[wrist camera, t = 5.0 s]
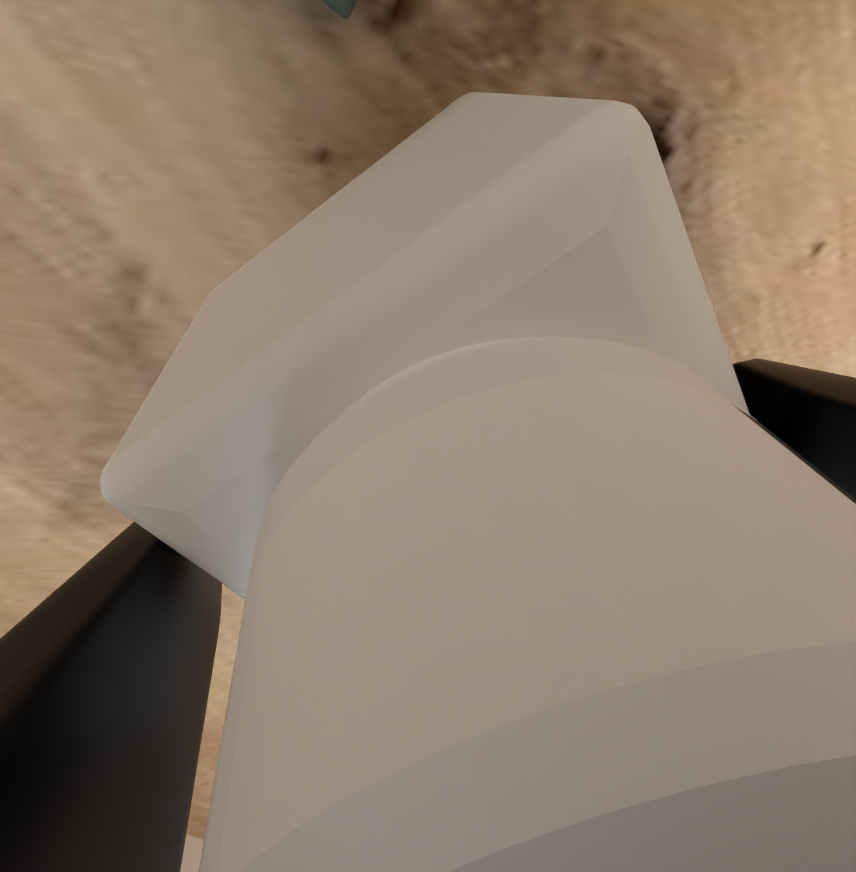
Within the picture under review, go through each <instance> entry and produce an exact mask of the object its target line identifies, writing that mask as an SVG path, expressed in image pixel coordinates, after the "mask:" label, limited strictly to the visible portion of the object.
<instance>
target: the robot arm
mask: <svg viewBox="0 0 856 872" xmlns="http://www.w3.org/2000/svg"><path fill="white" fill-rule="evenodd" d="M733 368H734V371H735V374H736V377H737V379H738V382H739V385H740V388H741V391H742V394H743V397H744V400H745V402H746V405H747V408H748V411H749V414H750V415H751V416H752V417H753V418H755V419H756V420H757V421H758V422H760V423H761V424H762V425H763V426H765V427H766V428H767V429H768V430H770V431H771V432H772V433H773V434H775V435H776V436H777V437H778V438H780V439H781V440H782V441H783V442H785V443H786V444H787V445H788V446H790V447H791V448H792V449H793V450H795V451H796V452H797V453H798V454H800V455H801V456H802V457H803V458H805V459H806V460H807V461H808V462H810V463H811V464H812V465H813V466H815V467H816V468H817V469H818V470H820V471H821V472H822V473H823V474H825V475H826V476H827V477H828V478H830V479H831V480H832V481H833V482H835V483H836V484H837V485H839V486H840V487H841V488H842V489H844V490H845V491H846V492H847V493H849V494H850V495H851V496H852V497H854V498H855V499H856V378H854V377H849V376H844V375H839V374H834V373H829V372H824V371H819V370H813V369H808V368H803V367H798V366H793V365H788V364H783V363H778V362H773V361H768V360H763V359H752V360H747V361H743V362H738V363H735V364H733ZM221 593H222V583H221V582H220V581H219V580H217V579H216V578H214V577H213V576H211V575H210V574H209V573H207V572H206V571H204V570H203V569H201V568H200V567H198V566H197V565H196V564H194V563H193V562H191V561H190V560H188V559H187V558H186V557H184V556H183V555H181V554H180V553H178V552H177V551H176V550H174V549H173V548H171V547H170V546H168V545H167V544H165V543H164V542H163V541H161V540H160V539H158V538H157V537H155V536H154V535H153V534H151V533H150V532H148V531H147V530H145V529H144V528H143V527H141V526H140V525H138V524H137V523H135V522H133V523H132V524H131V525H130V526H129V527H127V528H126V529H125V530H124V531H123V532H122V533H121V534H119V535H118V536H117V537H116V538H115V539H114V540H113V541H111V542H110V543H109V544H108V545H107V546H106V547H105V548H103V549H102V550H101V551H100V552H99V553H98V554H97V555H95V556H94V557H93V558H92V559H91V560H90V561H89V562H87V563H86V564H85V565H84V566H83V567H82V568H81V569H79V570H78V571H77V572H76V573H75V574H74V575H73V576H71V577H70V578H69V579H68V580H67V581H66V582H65V583H63V584H62V585H61V586H60V587H59V588H58V589H57V590H55V591H54V592H53V593H52V594H51V595H50V596H49V597H47V598H46V599H45V600H44V601H43V602H42V603H41V604H39V605H38V606H37V607H36V608H35V609H34V610H33V611H31V612H30V613H29V614H28V615H27V616H26V617H25V618H23V619H22V620H21V621H20V622H19V623H18V624H17V625H15V626H14V627H13V628H12V629H11V630H10V631H9V632H7V633H6V634H5V635H4V636H3V637H2V638H1V639H0V872H180V869H181V863H182V857H183V851H184V845H185V838H186V832H187V826H188V820H189V813H190V807H191V801H192V795H193V788H194V782H195V776H196V770H197V763H198V757H199V751H200V744H201V738H202V732H203V726H204V719H205V713H206V707H207V701H208V694H209V688H210V682H211V676H212V669H213V663H214V657H215V651H216V644H217V638H218V632H219V624H220V614H221Z"/></svg>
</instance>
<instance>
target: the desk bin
mask: <svg viewBox="0 0 856 872" xmlns="http://www.w3.org/2000/svg"><path fill="white" fill-rule="evenodd" d="M321 1H323V2H324V3H325V4H326V5H328V6H329V7H330V8H331V9H333V10H334V11H335V12H336V13H338V14H339V15H340V16H341V17H343V18H344V19H348V17H349V15H350V13H351V11H352V9H353V7H354V5H355V2H356V0H321Z"/></svg>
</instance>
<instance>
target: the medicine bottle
mask: <svg viewBox="0 0 856 872" xmlns="http://www.w3.org/2000/svg"><path fill="white" fill-rule="evenodd" d="M100 487H101V495H102V496H103V497H104V498H105V500H106V501H107V502H108V503H109V504H110V505H111V506H112V507H114V508H115V509H117V510H118V511H120V512H121V513H122V514H124V515H125V516H127V517H128V518H130V519H131V520H133V521H134V522H135V523H137V524H138V525H140V526H141V527H143V528H144V529H145V530H147V531H148V532H150V533H151V534H153V535H154V536H155V537H157V538H158V539H160V540H161V541H163V542H164V543H165V544H167V545H168V546H170V547H171V548H173V549H174V550H176V551H177V552H178V553H180V554H181V555H183V556H184V557H186V558H187V559H188V560H190V561H191V562H193V563H194V564H196V565H197V566H198V567H200V568H201V569H203V570H204V571H206V572H207V573H209V574H210V575H211V576H213V577H214V578H216V579H217V580H219V581H220V582H221V583H223V584H224V585H226V586H227V587H229V588H230V589H231V590H233V591H234V592H236V593H237V594H239V595H240V596H241V597H243V598H244V599H246V600H245V605H244V611H243V617H242V623H241V629H240V634H239V640H238V646H237V652H236V658H235V663H234V669H233V675H232V681H231V687H230V692H229V698H228V704H227V710H226V716H225V721H224V727H223V733H222V739H221V745H220V750H219V756H218V762H217V768H216V774H215V779H214V785H213V791H212V797H211V803H210V808H209V814H208V820H207V826H206V832H205V837H204V843H203V849H202V855H201V861H200V866H199V872H856V499H855V498H854V497H852V496H851V495H850V494H849V493H847V492H846V491H845V490H844V489H842V488H841V487H840V486H839V485H837V484H836V483H835V482H833V481H832V480H831V479H830V478H828V477H827V476H826V475H825V474H823V473H822V472H821V471H820V470H818V469H817V468H816V467H815V466H813V465H812V464H811V463H810V462H808V461H807V460H806V459H805V458H803V457H802V456H801V455H800V454H798V453H797V452H796V451H795V450H793V449H792V448H791V447H790V446H788V445H787V444H786V443H785V442H783V441H782V440H781V439H780V438H778V437H777V436H776V435H775V434H773V433H772V432H771V431H770V430H768V429H767V428H766V427H765V426H763V425H762V424H761V423H760V422H758V421H757V420H756V419H755V418H753V417H752V416H751V415H750V414H749V411H748V408H747V405H746V402H745V400H744V397H743V394H742V391H741V388H740V385H739V382H738V379H737V377H736V374H735V371H734V368H733V365H732V362H731V359H730V356H729V353H728V351H727V348H726V345H725V342H724V339H723V336H722V333H721V330H720V328H719V325H718V322H717V319H716V316H715V313H714V310H713V307H712V305H711V302H710V299H709V296H708V293H707V290H706V287H705V284H704V281H703V279H702V276H701V273H700V270H699V267H698V264H697V261H696V258H695V256H694V253H693V250H692V247H691V244H690V241H689V238H688V235H687V232H686V230H685V227H684V224H683V221H682V218H681V215H680V212H679V209H678V207H677V204H676V201H675V198H674V195H673V192H672V189H671V186H670V184H669V181H668V178H667V175H666V172H665V169H664V166H663V163H662V160H661V158H660V155H659V152H658V149H657V146H656V143H655V140H654V137H653V135H652V132H651V129H650V126H649V124H648V123H647V122H646V120H645V119H644V118H643V116H642V115H641V114H640V112H639V111H638V110H637V109H636V108H635V107H634V106H633V105H630V104H626V103H622V102H618V101H614V100H597V99H581V98H565V97H548V96H532V95H516V94H499V93H483V92H470V93H467V94H465V95H462V96H461V97H459V98H458V99H457V100H455V101H454V102H453V103H452V104H450V105H449V106H448V107H446V108H445V109H444V110H443V111H441V112H440V113H439V114H437V115H436V116H435V117H433V118H432V119H431V120H430V121H428V122H427V123H426V124H424V125H423V126H422V127H421V128H419V129H418V130H417V131H415V132H414V133H413V134H412V135H410V136H409V137H408V138H406V139H405V140H404V141H403V142H401V143H400V144H399V145H397V146H396V147H395V148H394V149H392V150H391V151H390V152H388V153H387V154H386V155H384V156H383V157H382V158H381V159H379V160H378V161H377V162H375V163H374V164H373V165H372V166H370V167H369V168H368V169H366V170H365V171H364V172H363V173H361V174H360V175H359V176H357V177H356V178H355V179H354V180H352V181H351V182H350V183H348V184H347V185H346V186H345V187H343V188H342V189H341V190H339V191H338V192H337V193H335V194H334V195H333V196H332V197H330V198H329V199H328V200H326V201H325V202H324V203H323V204H321V205H320V206H319V207H317V208H316V209H315V210H314V211H312V212H311V213H310V214H308V215H307V216H306V217H305V218H303V219H302V220H301V221H299V222H298V223H297V224H296V225H294V226H293V227H292V228H290V229H289V230H288V231H286V232H285V233H284V234H283V235H281V236H280V237H279V238H277V239H276V240H275V241H274V242H272V243H271V244H270V245H268V246H267V247H266V248H265V249H263V250H262V251H261V252H259V253H258V254H257V255H256V256H254V257H253V258H252V259H250V260H249V261H248V262H246V263H245V264H244V265H243V266H241V267H240V268H239V269H237V270H236V271H235V272H234V273H232V274H231V275H230V276H228V277H227V278H226V279H225V280H223V281H222V282H221V283H219V284H218V285H217V286H216V287H214V288H213V289H212V290H211V291H210V293H209V294H208V295H207V297H206V299H205V300H204V302H203V304H202V305H201V307H200V309H199V310H198V312H197V314H196V315H195V317H194V319H193V320H192V322H191V324H190V325H189V327H188V329H187V330H186V332H185V334H184V335H183V337H182V339H181V340H180V342H179V344H178V345H177V347H176V349H175V350H174V352H173V354H172V355H171V357H170V359H169V360H168V362H167V364H166V365H165V367H164V369H163V370H162V372H161V374H160V375H159V377H158V379H157V380H156V382H155V384H154V385H153V387H152V389H151V390H150V392H149V394H148V395H147V397H146V399H145V400H144V402H143V404H142V405H141V407H140V409H139V410H138V412H137V414H136V416H135V417H134V419H133V421H132V422H131V424H130V426H129V427H128V429H127V431H126V432H125V434H124V436H123V437H122V439H121V441H120V442H119V444H118V446H117V447H116V449H115V451H114V452H113V454H112V456H111V457H110V459H109V461H108V462H107V464H106V466H105V467H104V469H103V471H102V472H101V479H100Z"/></svg>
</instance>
